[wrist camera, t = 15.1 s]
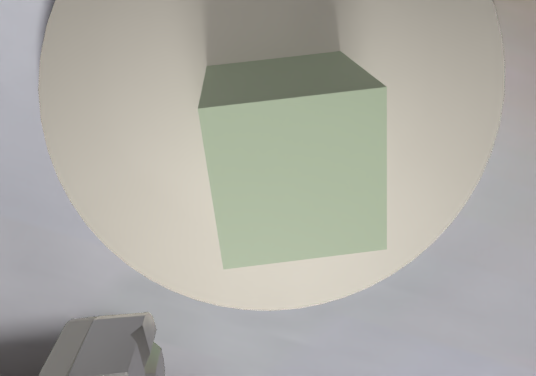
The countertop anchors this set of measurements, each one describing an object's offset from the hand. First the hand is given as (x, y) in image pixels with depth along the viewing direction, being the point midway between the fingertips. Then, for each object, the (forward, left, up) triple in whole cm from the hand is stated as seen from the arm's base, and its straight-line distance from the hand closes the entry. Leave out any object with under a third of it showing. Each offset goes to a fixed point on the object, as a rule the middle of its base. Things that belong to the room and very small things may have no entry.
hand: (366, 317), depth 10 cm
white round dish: (+1, -1, -12) cm, 12 cm away
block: (+1, -1, -11) cm, 11 cm away
